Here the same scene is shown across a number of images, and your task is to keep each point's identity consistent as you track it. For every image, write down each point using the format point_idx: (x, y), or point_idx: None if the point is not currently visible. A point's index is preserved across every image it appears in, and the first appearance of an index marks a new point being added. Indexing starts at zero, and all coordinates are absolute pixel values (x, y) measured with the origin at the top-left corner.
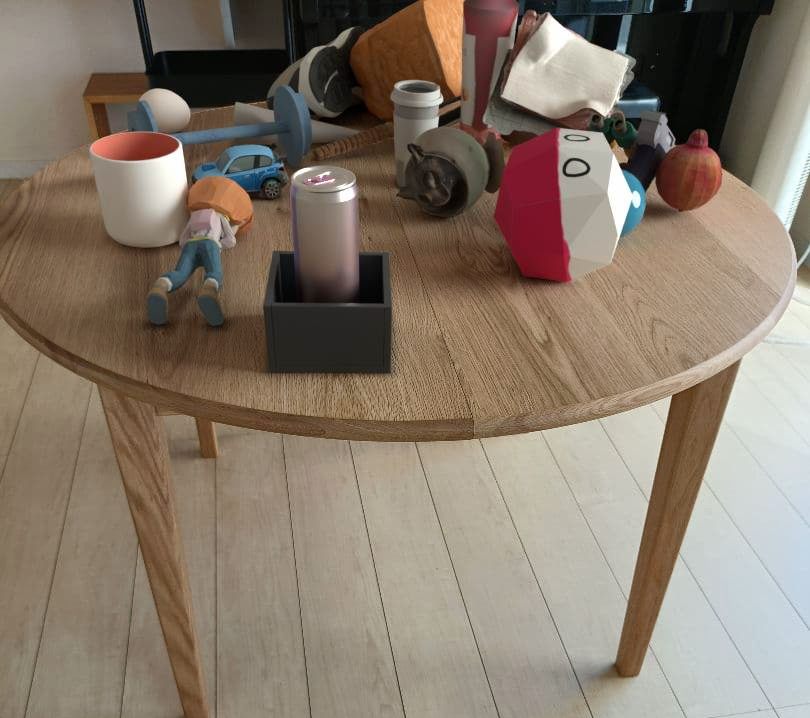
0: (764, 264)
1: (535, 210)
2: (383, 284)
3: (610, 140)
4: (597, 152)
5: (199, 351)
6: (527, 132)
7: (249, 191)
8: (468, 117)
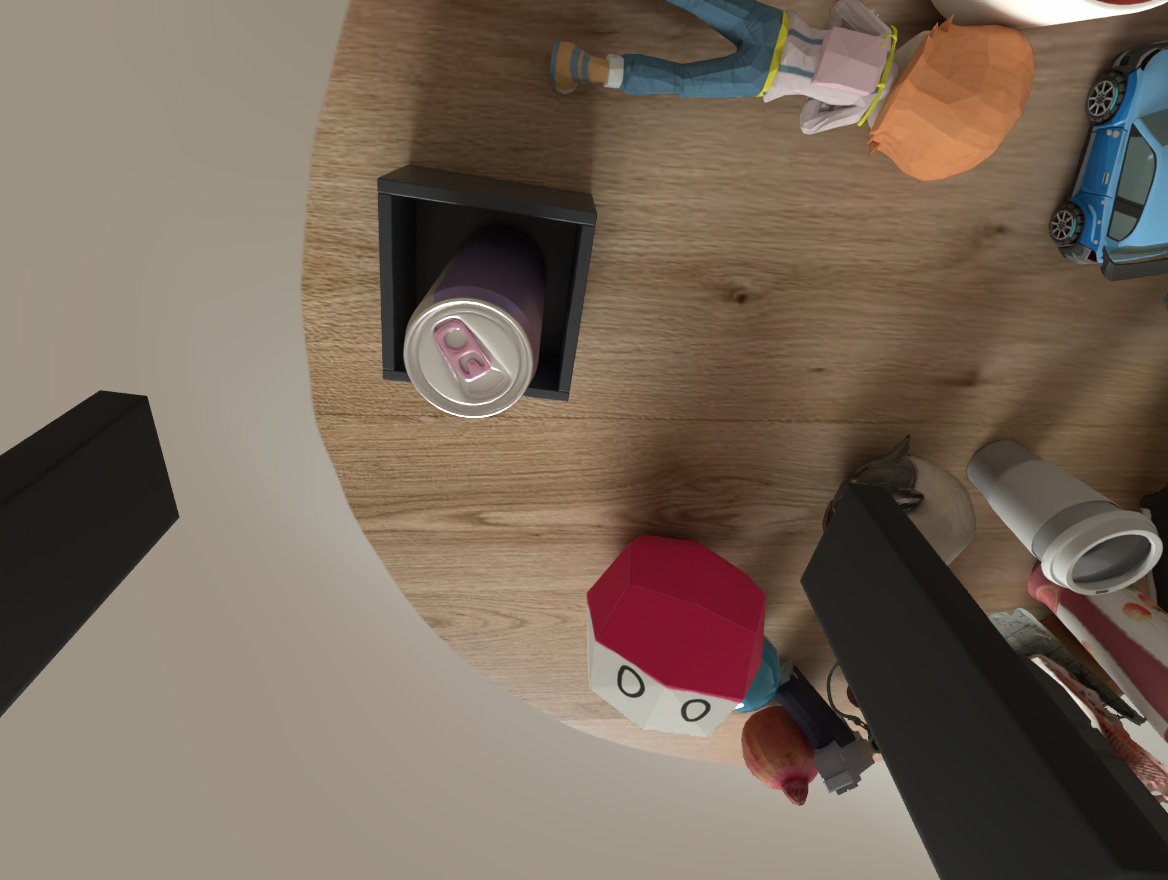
0: (626, 730)
1: (611, 604)
2: None
3: None
4: (647, 716)
5: (478, 38)
6: None
7: (1078, 176)
8: None
